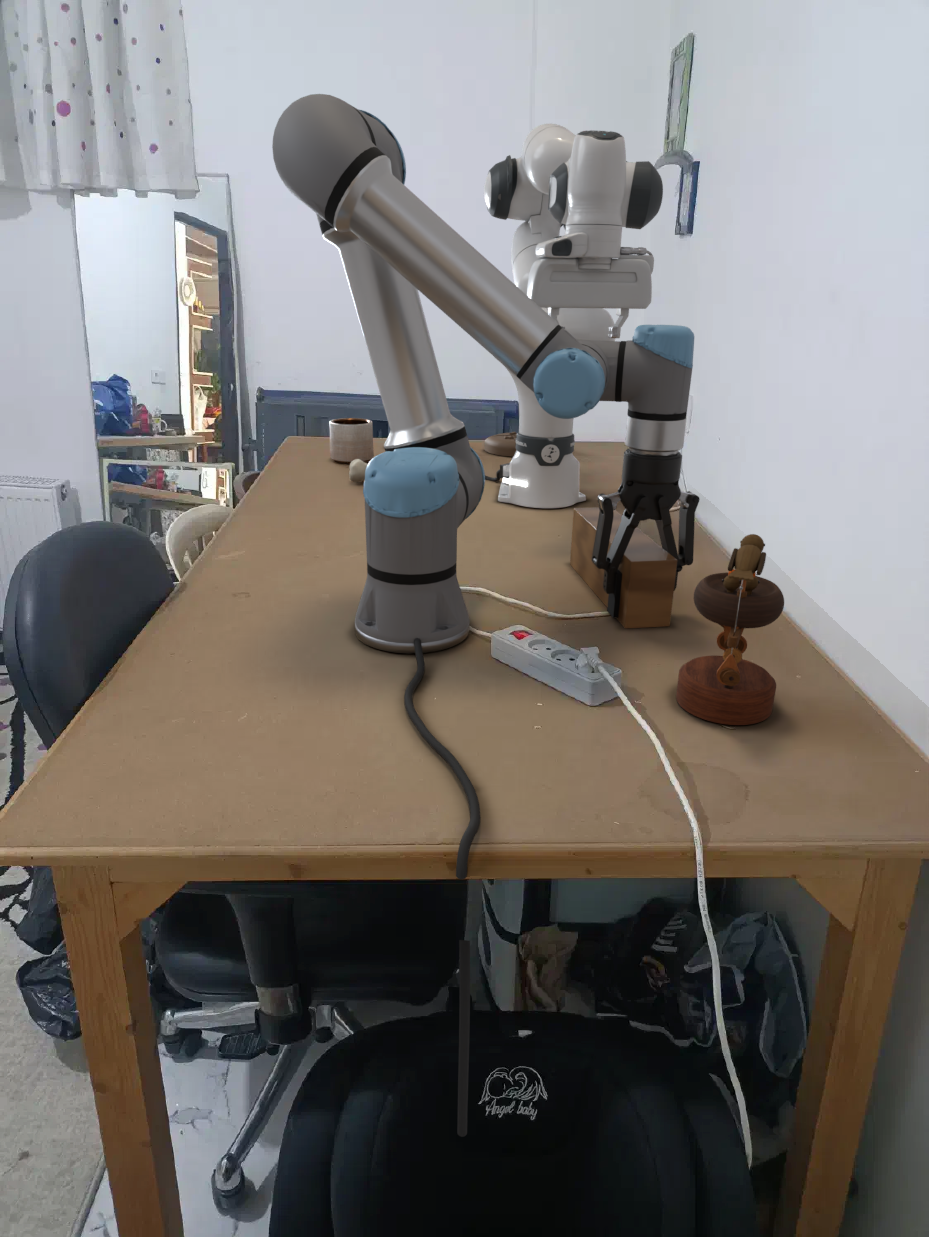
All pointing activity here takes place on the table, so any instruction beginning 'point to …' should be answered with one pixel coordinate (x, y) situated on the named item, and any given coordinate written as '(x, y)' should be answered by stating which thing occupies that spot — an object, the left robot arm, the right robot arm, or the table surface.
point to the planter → (351, 440)
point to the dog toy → (357, 470)
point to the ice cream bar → (501, 444)
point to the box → (627, 571)
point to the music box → (733, 642)
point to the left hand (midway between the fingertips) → (637, 612)
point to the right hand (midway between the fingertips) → (586, 338)
